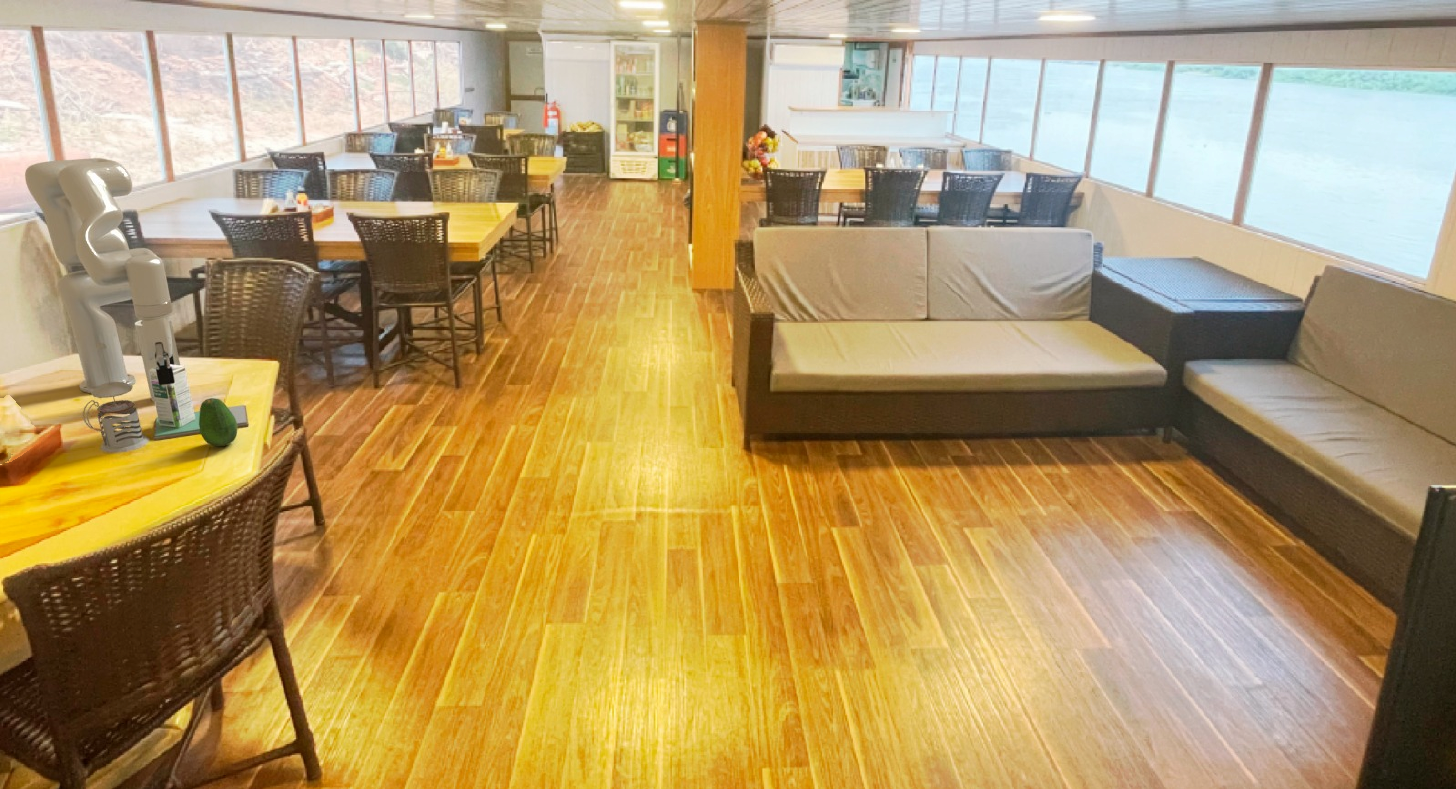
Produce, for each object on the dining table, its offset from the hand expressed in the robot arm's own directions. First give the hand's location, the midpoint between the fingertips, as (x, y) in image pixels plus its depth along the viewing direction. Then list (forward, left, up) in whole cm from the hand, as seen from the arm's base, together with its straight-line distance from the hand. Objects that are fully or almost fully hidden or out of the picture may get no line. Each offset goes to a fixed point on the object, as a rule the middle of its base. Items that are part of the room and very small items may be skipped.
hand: (167, 376), depth 218 cm
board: (0, +5, -13) cm, 14 cm away
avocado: (+16, +9, -13) cm, 23 cm away
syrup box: (0, 0, -12) cm, 12 cm away
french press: (+7, -12, -13) cm, 19 cm away
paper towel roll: (-21, -3, -13) cm, 25 cm away
